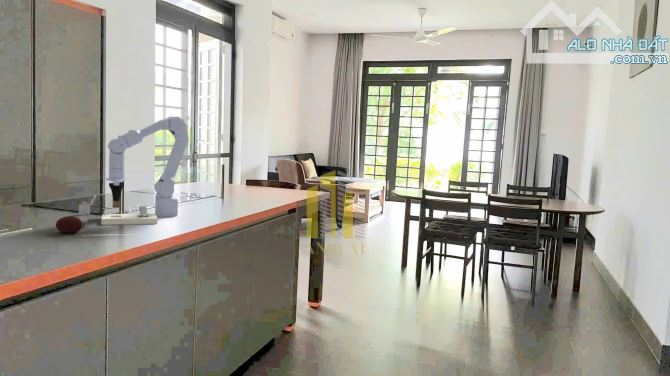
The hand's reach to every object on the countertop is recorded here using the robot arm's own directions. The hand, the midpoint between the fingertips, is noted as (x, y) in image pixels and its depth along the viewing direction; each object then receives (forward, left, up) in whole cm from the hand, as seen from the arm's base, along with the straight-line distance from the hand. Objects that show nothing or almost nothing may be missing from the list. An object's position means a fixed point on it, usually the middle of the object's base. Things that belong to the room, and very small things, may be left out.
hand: (116, 200), depth 196 cm
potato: (+15, +25, -8) cm, 30 cm away
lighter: (+11, -11, -8) cm, 17 cm away
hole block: (-5, +11, -8) cm, 14 cm away
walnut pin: (0, 0, -3) cm, 3 cm away
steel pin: (-10, +11, -7) cm, 16 cm away
